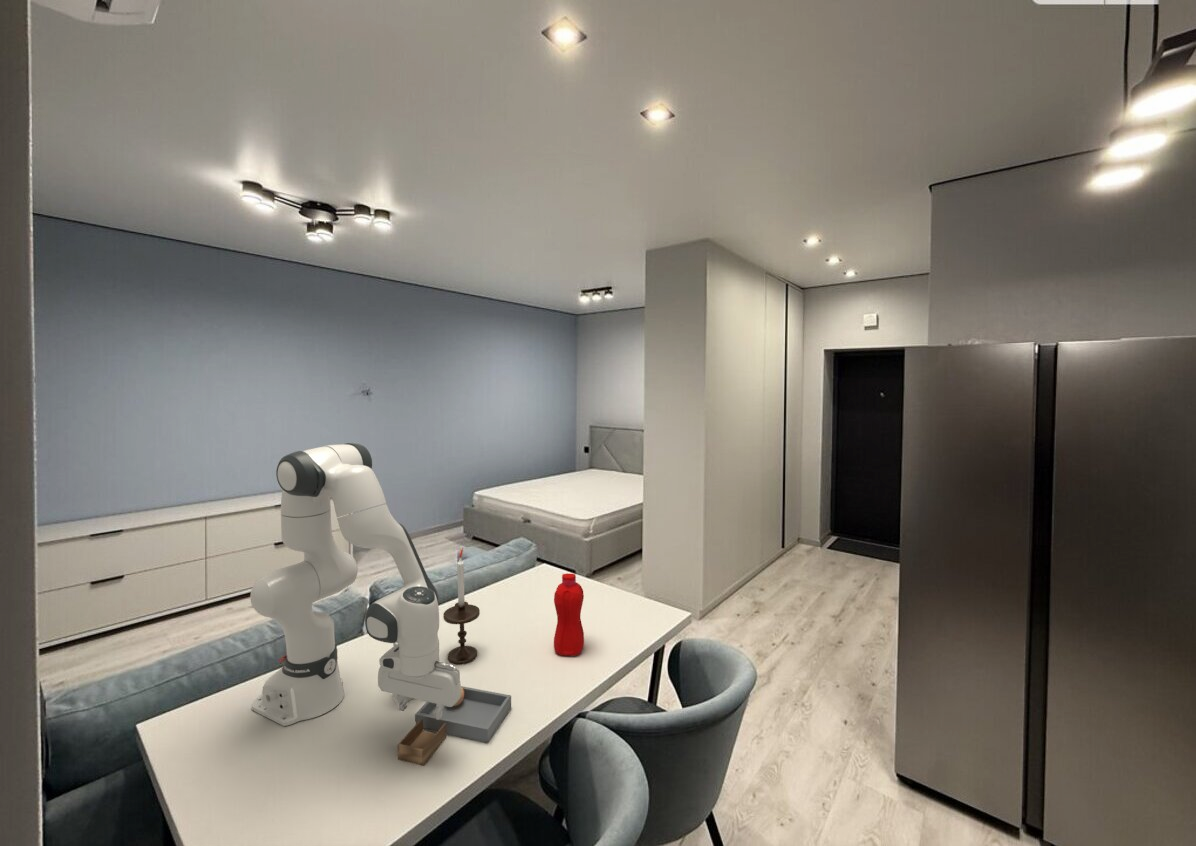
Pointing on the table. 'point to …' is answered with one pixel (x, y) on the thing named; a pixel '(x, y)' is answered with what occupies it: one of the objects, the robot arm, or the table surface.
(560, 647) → the water bottle
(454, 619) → the candlestick
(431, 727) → the tray
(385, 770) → the table surface
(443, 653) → the table surface
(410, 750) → the small wooden box
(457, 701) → the ball
